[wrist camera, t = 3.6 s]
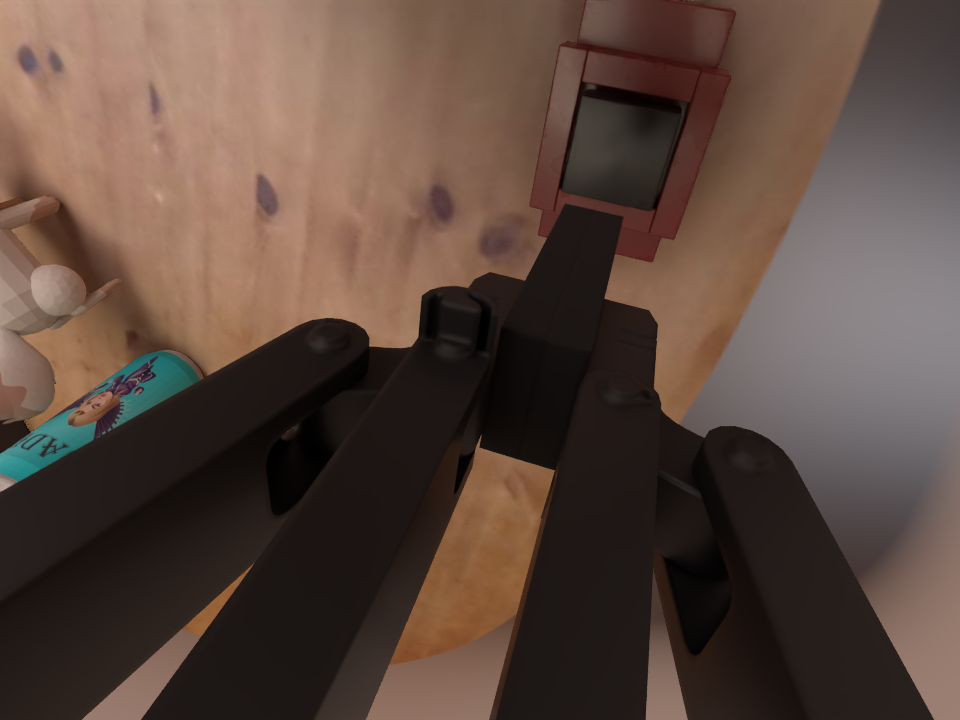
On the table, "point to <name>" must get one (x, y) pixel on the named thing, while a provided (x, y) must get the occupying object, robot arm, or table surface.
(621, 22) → the wooden frame
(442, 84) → the table surface
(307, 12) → the table surface
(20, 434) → the button base
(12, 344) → the toy
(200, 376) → the beverage can
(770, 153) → the table surface
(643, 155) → the black square panel
